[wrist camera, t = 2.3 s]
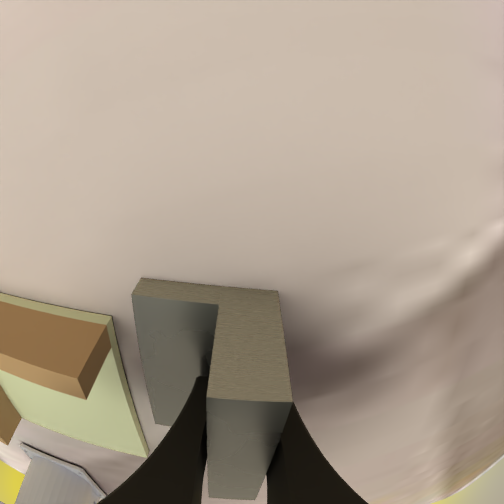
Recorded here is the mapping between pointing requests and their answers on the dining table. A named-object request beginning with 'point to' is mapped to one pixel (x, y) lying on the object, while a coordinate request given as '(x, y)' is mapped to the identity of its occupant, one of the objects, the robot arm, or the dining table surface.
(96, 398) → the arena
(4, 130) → the dining table surface
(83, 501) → the robot arm
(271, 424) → the angle bracket
